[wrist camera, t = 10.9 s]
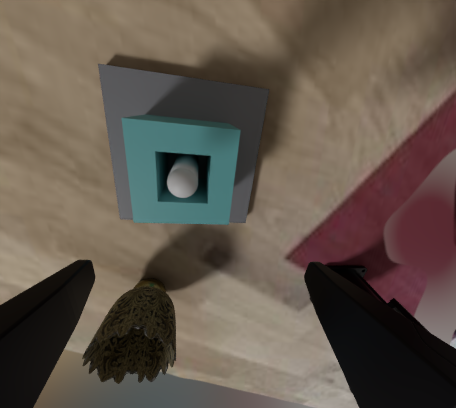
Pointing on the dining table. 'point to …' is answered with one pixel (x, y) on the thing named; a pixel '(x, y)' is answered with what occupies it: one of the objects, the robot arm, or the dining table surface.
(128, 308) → the cup
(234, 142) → the teal block with hole
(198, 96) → the post stand
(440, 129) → the dining table surface
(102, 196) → the dining table surface
